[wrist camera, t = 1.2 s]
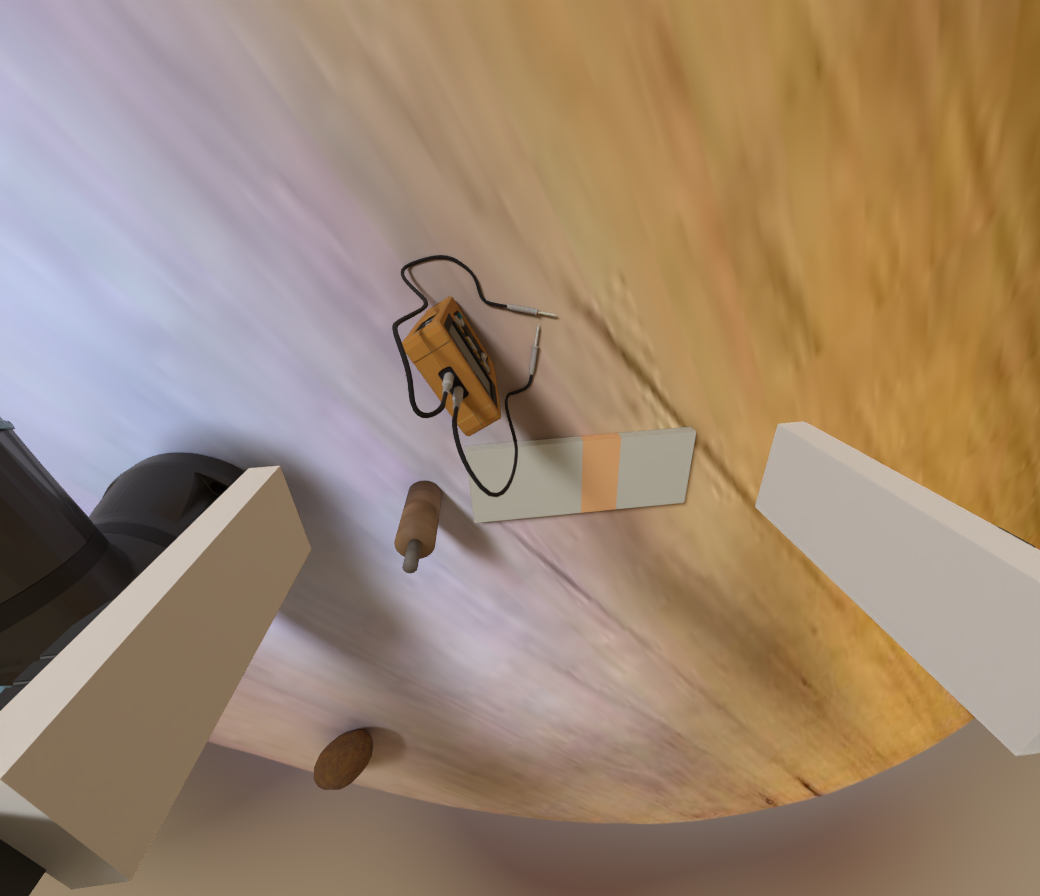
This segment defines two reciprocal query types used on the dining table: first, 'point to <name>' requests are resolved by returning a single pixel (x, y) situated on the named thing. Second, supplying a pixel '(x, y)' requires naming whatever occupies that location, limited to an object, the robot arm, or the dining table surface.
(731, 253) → the dining table surface
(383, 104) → the dining table surface
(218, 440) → the dining table surface
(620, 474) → the panel
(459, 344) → the multimeter
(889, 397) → the dining table surface
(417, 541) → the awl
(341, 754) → the potato
